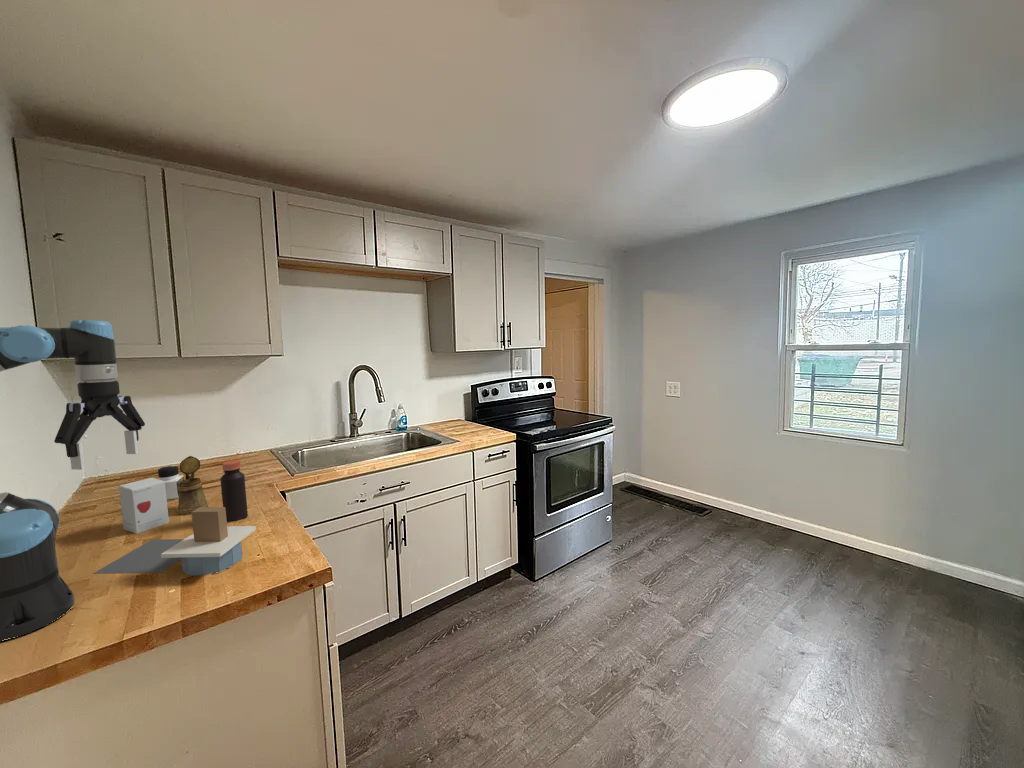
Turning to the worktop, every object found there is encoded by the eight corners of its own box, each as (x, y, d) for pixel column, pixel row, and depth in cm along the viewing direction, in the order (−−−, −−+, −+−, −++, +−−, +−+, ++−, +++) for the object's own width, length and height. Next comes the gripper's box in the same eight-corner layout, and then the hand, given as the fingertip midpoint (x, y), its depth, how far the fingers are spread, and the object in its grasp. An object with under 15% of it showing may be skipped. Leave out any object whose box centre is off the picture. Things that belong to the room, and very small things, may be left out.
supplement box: (136, 535, 129) (130, 490, 127) (122, 529, 133) (117, 485, 131) (170, 523, 137) (165, 480, 135) (156, 518, 141) (152, 476, 139)
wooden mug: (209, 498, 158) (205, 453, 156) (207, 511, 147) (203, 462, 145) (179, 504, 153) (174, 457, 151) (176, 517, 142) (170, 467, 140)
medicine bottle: (178, 498, 158) (175, 468, 157) (155, 501, 156) (152, 470, 154) (185, 492, 165) (182, 463, 164) (163, 494, 162) (160, 465, 161)
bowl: (221, 576, 106) (219, 554, 106) (171, 577, 106) (168, 555, 105) (252, 550, 119) (250, 530, 119) (207, 551, 119) (205, 531, 118)
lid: (220, 556, 105) (217, 521, 104) (161, 557, 104) (157, 522, 103) (255, 529, 120) (253, 498, 118) (204, 530, 119) (201, 498, 118)
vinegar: (236, 524, 136) (230, 466, 134) (219, 522, 138) (213, 464, 135) (252, 515, 143) (248, 459, 141) (236, 513, 144) (231, 458, 142)
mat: (162, 574, 108) (162, 572, 107) (92, 575, 107) (92, 573, 107) (211, 540, 125) (210, 538, 125) (151, 541, 125) (151, 539, 125)
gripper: (55, 386, 93) (66, 477, 95) (156, 376, 117) (163, 448, 120) (24, 386, 93) (36, 476, 95) (132, 376, 118) (139, 448, 120)
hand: (107, 461), depth 107 cm, fingers open, 13 cm apart
